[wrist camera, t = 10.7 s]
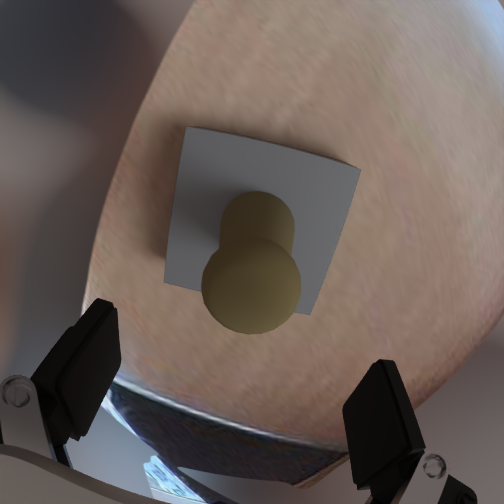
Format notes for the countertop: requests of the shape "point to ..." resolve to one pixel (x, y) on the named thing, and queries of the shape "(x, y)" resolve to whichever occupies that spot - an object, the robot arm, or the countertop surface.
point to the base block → (251, 180)
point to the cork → (253, 266)
